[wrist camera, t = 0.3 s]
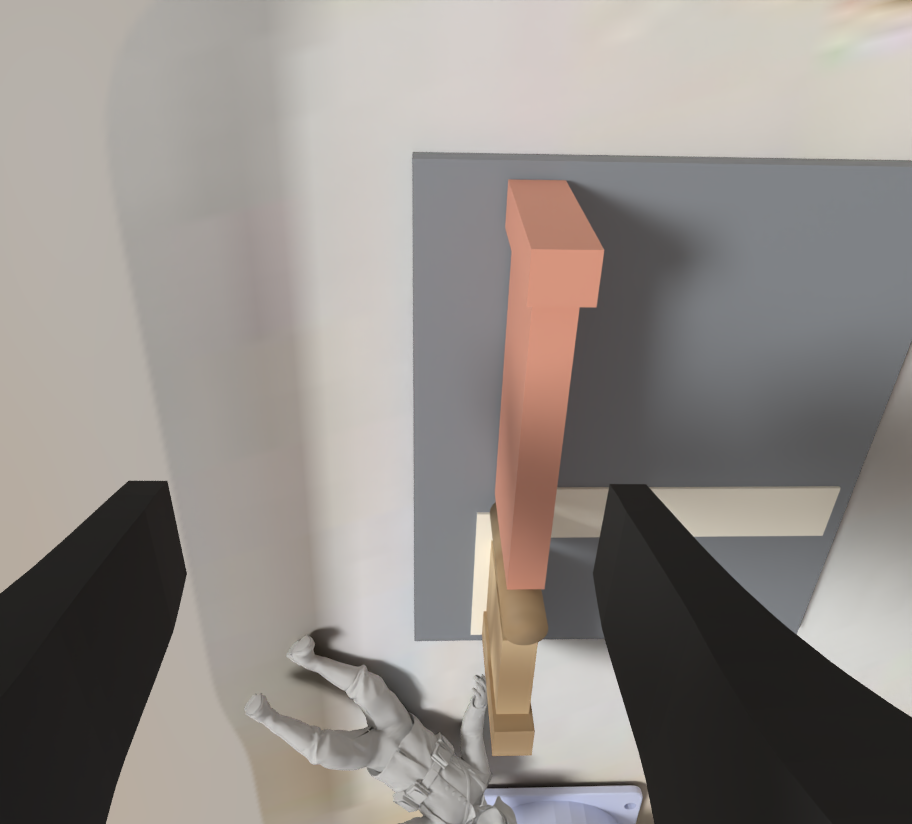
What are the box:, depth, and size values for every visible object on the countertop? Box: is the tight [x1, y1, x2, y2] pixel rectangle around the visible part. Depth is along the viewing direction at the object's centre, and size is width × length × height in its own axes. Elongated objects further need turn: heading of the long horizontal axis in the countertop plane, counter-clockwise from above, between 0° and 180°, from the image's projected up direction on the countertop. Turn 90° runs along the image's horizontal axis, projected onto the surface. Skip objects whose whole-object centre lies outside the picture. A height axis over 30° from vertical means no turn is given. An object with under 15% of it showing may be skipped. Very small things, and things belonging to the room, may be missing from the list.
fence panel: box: [495, 179, 604, 590], centre depth 19 cm, size 10×1×5 cm, turn 178°
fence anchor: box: [482, 502, 548, 756], centre depth 24 cm, size 6×1×5 cm, turn 178°
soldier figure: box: [244, 635, 517, 824], centre depth 29 cm, size 8×5×12 cm
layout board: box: [412, 152, 912, 641], centre depth 23 cm, size 17×14×1 cm
